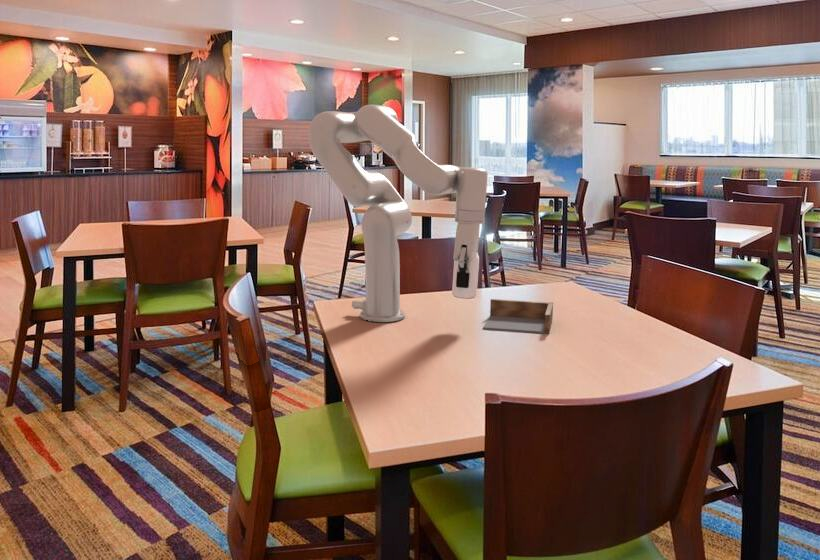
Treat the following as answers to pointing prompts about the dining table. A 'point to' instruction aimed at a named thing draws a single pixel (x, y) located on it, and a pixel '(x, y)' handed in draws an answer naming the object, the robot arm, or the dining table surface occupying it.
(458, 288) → the can
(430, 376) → the dining table surface
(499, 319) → the mat
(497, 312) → the corner walls
